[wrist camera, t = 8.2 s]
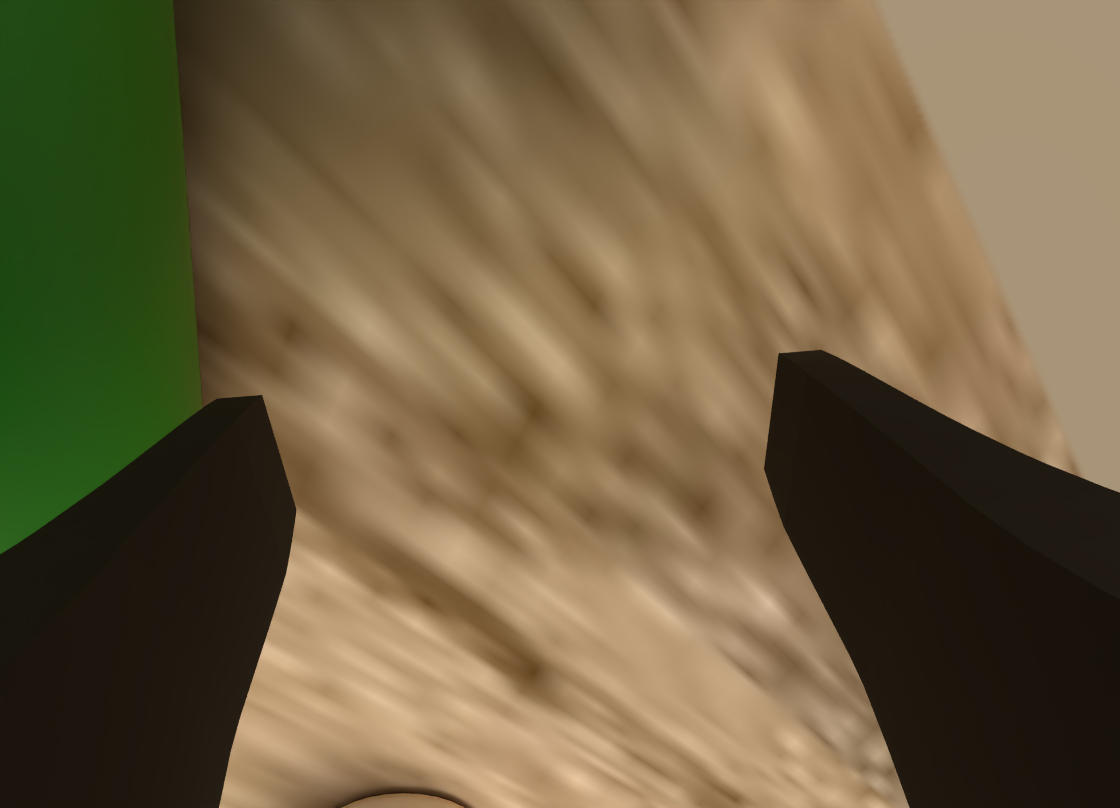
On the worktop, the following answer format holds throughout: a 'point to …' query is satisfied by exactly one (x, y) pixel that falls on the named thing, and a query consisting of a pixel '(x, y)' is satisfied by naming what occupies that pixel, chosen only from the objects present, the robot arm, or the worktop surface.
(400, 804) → the milk bottle
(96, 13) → the green vase with flowers
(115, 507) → the robot arm
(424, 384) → the worktop surface
